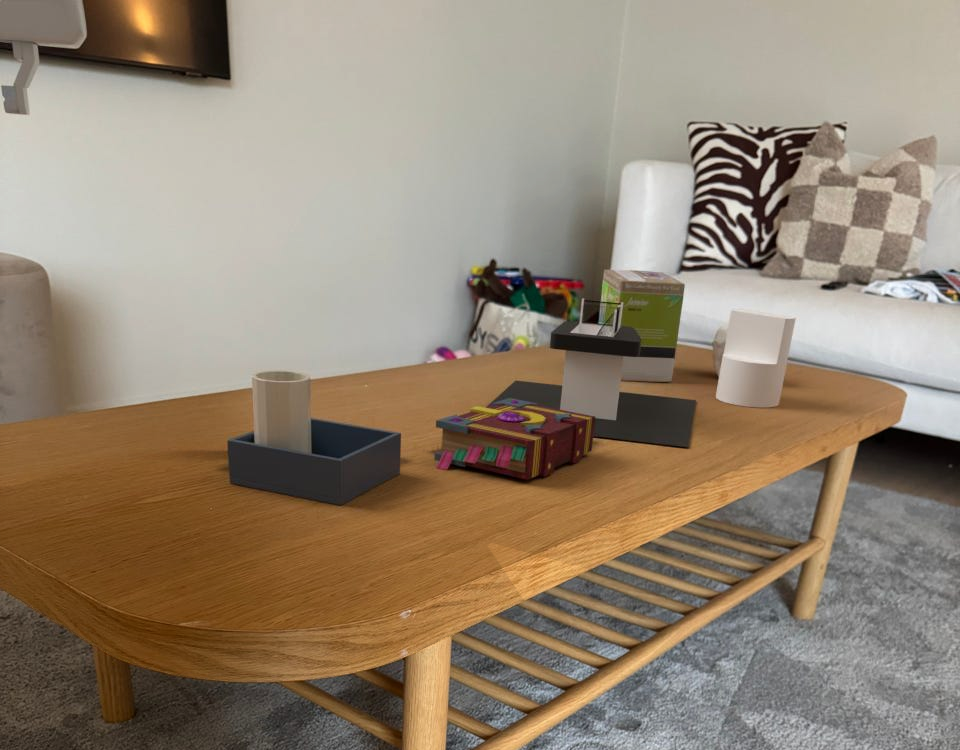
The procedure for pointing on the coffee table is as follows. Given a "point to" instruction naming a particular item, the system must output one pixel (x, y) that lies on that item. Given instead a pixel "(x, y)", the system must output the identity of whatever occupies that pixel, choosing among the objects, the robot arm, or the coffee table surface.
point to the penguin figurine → (719, 346)
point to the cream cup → (282, 409)
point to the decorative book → (515, 438)
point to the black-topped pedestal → (606, 384)
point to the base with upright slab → (754, 358)
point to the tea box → (646, 319)
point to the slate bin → (319, 462)
